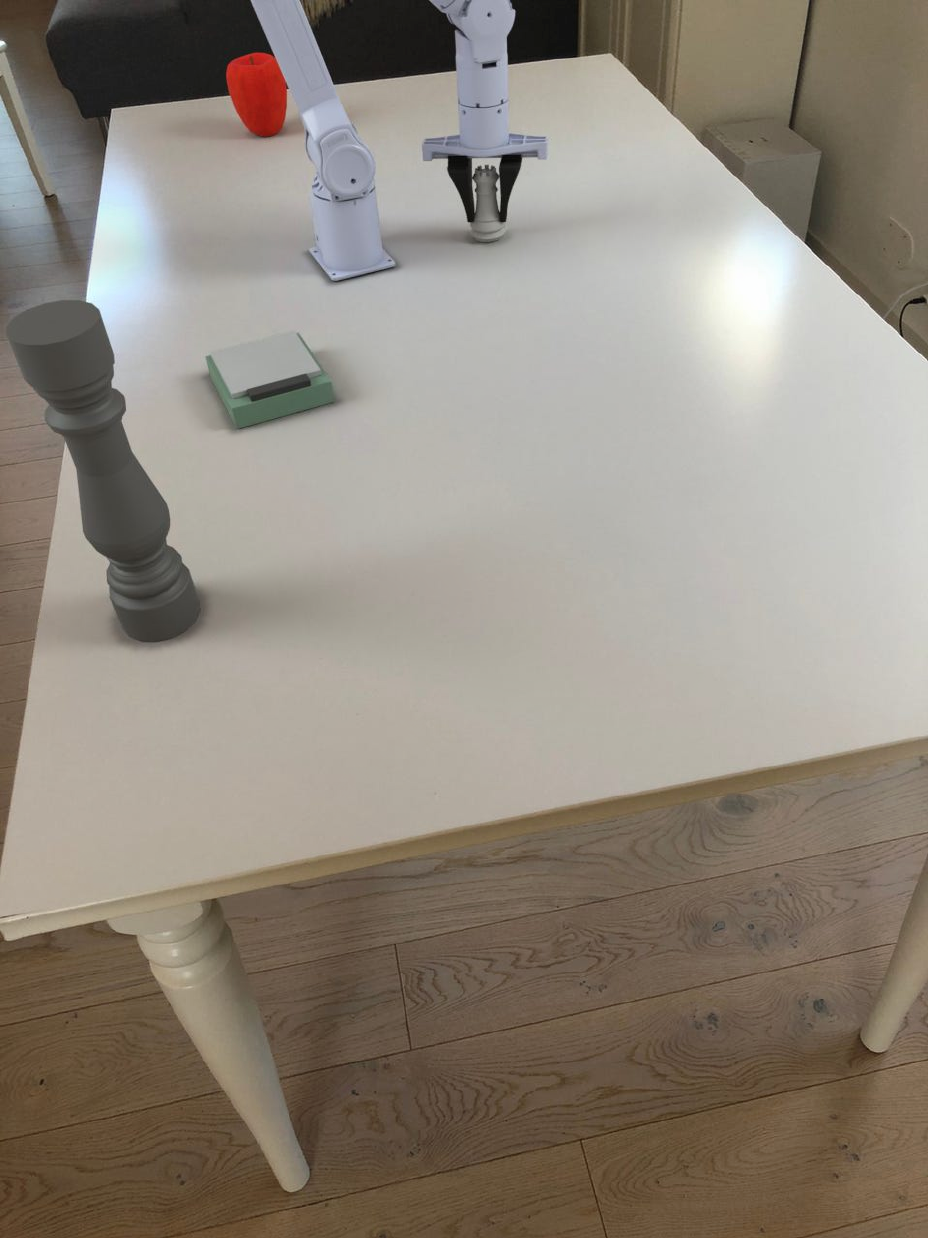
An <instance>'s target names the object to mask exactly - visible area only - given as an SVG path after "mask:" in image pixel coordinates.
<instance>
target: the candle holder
mask: <svg viewBox="0 0 928 1238" xmlns="http://www.w3.org/2000/svg"><path fill="white" fill-rule="evenodd" d="M5 336H6V338H7V340H8V343H9V345H10V348H11V350H12V353H13V355H14V357H15V361H16V362H17V365H18V367H19V370H20V372H21V375H22V377H23V380H24V381H25V382H26V383H27V384H28V385H29V387H31V388H32V390H33V391H34V392H35V393H36V394H37V395H38V396H39V397H40V398H42V399H43V400H44V401H45V402H46V403H47V404H48V405H47V407H46V408H45V409H44V422H45V423H46V425H47V426H48V427H49V428H50V429H51V430H52V432H53V433H56V434H59V435H60V436H62V437H63V439H64V442H65V445H66V447H67V449H68V452H69V454H70V457H71V459H72V462H73V465H74V467H75V470H76V479H77V487H78V488H77V489H78V495H79V504H80V517H81V526H82V533H83V536H84V538H85V539H86V540H87V541H88V543H89V544H90V545H91V546H92V547H93V549H94V550H95V551H96V552H97V553H99V554H100V555H101V556H103V557H105V558H106V560H107V561H109V564H108V567H107V568H106V583H107V586H109V587H108V590H109V592H108V593H109V600H110V602H111V604H112V607H113V610H114V611H115V614H116V616H117V619H118V621H119V624H120V626H121V628H122V630H123V631H124V632H125V634H126V635H127V636H128V637H129V638H132V639H134V640H136V641H138V642H146V643H147V642H149V643H157V642H161V641H166V640H169V639H173V638H174V637H177V636H179V635H181V634H182V633H184V632H186V631H187V630H188V629H190V627H191V626H192V625H193V624H195V623H196V622H197V620H198V617H199V614H200V612H201V604H200V598H199V596H198V592H197V590H196V586H195V583H194V580H193V578H192V577H193V576H192V575H191V571H190V568H188V566H186V565H185V564H184V563H183V558H182V557H183V556H182V555H181V554H180V553H179V552H178V550H176V549H175V547H173V546H171V545H168V541H167V537H168V535H169V532H170V529H171V514H170V509H169V505H168V503H167V501H166V500H165V498H164V497H163V496H162V494H161V492H160V491H159V489H157V487H156V485H155V484H154V482H153V481H152V479H151V478H150V476H149V475H148V472H146V470H145V469H144V467H143V466H142V464H141V463H140V461H139V460H138V458H137V457H136V455H135V454H134V453H133V450H132V447H131V444H130V442H129V439H128V436H127V433H126V430H125V427H124V424H123V421H122V420H123V417H124V415H125V413H126V412H127V404H126V397H125V395H124V394H123V393H122V392H121V391H120V390H119V389H117V388H114V387H113V385H112V384H113V383H112V381H113V379H114V377H115V366H114V365H115V363H116V361H115V353H114V350H113V347H112V344H111V340H110V338H109V335H108V332H107V329H106V326H105V323H104V320H103V317H102V314H101V310H100V308H98V307H97V306H96V305H95V304H94V303H92V302H88V301H84V300H80V299H60V300H56V301H50V302H44V303H41V304H39V305H35V306H33V307H29V308H27V309H26V310H24V311H22V312H21V313H19V314H17V315H16V316H13V318H12V319H11V320H10V321H9V323H8V324H7V325H6V330H5Z"/></svg>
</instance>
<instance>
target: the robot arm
mask: <svg viewBox="0 0 928 1238" xmlns="http://www.w3.org/2000/svg"><path fill="white" fill-rule="evenodd" d="M428 1H429V2H430V3H431V4H432V5H433V6H435V7H436V9H438V10H439V11H440V12H441V13H442V14H443V13H444V14H446V17H447V19H448V21H449V23H450V24H452V25H455V27H456V28H458V29H455V30H454V38H455V39H454V40H455V70H456V89H457V109H458V128H459V134H453V135H446V136H439V137H428V138H423V140H422V143H421V153H422V160H423V162H432V161H433V160H447V167H446V171H447V174H448V176H449V178H450V179H451V181H452V183H453V185H454V186H455V188H456V189H457V193H458V194H459V197H460V199H461V203H462V206H463V208H464V211H465V216H466V222H467V223H471V222H473V220H474V217H473V216H474V213H475V210H476V205H475V198H474V197H475V196H474V191H473V190H474V189H473V188H474V187H473V179H472V177H473V159H500V161H499V165H498V175H499V191H500V193H499V194H500V203H499V205H500V206H499V212H500V222H505V223H506V222H507V219H508V208H509V202H510V197H511V196H512V191H513V189H514V186H515V183H516V181H517V178H518V176H519V175H520V174H519V173H520V172H521V169H522V162H523V159H525V158H526V159H527V158H528V159H529V158H531V159H532V158H537V160H538V161H539V160H540V161H541V160H542V161H543V160H545V161H546V160H548V155H549V154H548V153H549V137H548V135H546V136H545V135H543V136H541V135H540V136H539V135H529V134H521V133H512V132H510V115H509V114H510V113H509V109H510V108H509V106H510V105H509V104H510V103H509V63H508V62H509V60H508V59H509V56H508V41H507V40H508V39H507V38H508V35H509V34H510V32H511V31H512V28H513V26H514V23H515V20H516V19H515V18H516V10H515V9H513V3H512V2H511V0H428ZM250 2H251V5H252V7H253V9H254V12H255V14H256V17H257V19H258V21H259V23H260V26H261V28H262V30H263V33H264V34H265V37H266V39H267V42H268V44H269V47H270V48H271V51H272V53H273V57H275V58H276V60H277V62H278V65H279V67H280V69H281V72H282V74H283V76H284V79H285V81H286V86H287V89H288V90H289V93H290V94H291V97H292V99H293V102H294V104H295V106H296V108H297V112H298V116H299V119H300V121H301V123H302V127H303V129H304V149H305V152H306V155H307V157H308V159H309V161H310V162H311V163H312V164H313V166H314V168H315V170H316V172H315V174H314V177H313V181H312V183H311V189H310V193H309V207H310V208H309V209H310V213H311V220H312V225H313V226H312V227H313V231H314V237H315V239H314V240H315V246H311V247H310V248H309V249H308V250H309V253H310V254H311V256H312V257H314V259H315V261H316V262H317V264H319V267H321V269H323V271H324V272H325V273H326V275H327V276H328V277H329V279H330V280H331V281H332V282H333V281H334V282H337V281H338V282H339V281H341V280H346V279H350V278H353V277H357V276H362V275H366V274H369V273H373V272H378V271H381V270H386V269H390V268H394V267H395V266H396V261H395V260H394V259H393V258H392V257H391V255H389V253H387V251H386V250H385V249H384V248H383V241H382V232H381V231H382V230H381V224H380V223H381V222H380V216H379V215H380V214H379V206H378V198H377V190H376V188H377V187H376V181H375V176H376V170H377V164H376V159H375V156H374V154H373V152H372V151H371V148H370V147H369V146H368V145H367V144H366V143H365V142H364V141H363V139H362V138H361V136H360V135H359V133H358V131H357V129H356V127H355V125H354V124H353V123H352V122H351V120H350V118H349V116H348V114H347V112H346V110H345V108H344V105H343V104H342V101H341V99H340V97H339V94H338V92H337V89H336V87H335V85H334V82H333V81H332V77H331V75H330V72H329V70H328V67H327V65H326V62H325V60H324V57H323V55H322V53H321V50H320V47H319V45H318V42H317V39H316V37H315V35H314V33H313V29H312V28H311V25H310V22H309V20H308V17H307V15H306V13H305V10H304V7H303V5H302V2H301V0H250Z"/></svg>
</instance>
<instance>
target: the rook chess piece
mask: <svg viewBox="0 0 928 1238" xmlns="http://www.w3.org/2000/svg"><path fill="white" fill-rule="evenodd" d="M489 166H490V167H489ZM498 180H500V178H499V172H497V168H496V166H495V165H489V164H484V168H483V165H477V166H476V167H475V168H474V173H473V174H472V181H473V182H474V183H475V188H474V193H475V196H476V202H475V213H474V216H473V217H474V220H473V222H469V223H470V224H469V226H470V228H471V229H470V230H469V234H470V235H471V237H472V238H473V239H474V240H476V241H478V242H484V243H485V242H486V243H487V242H489V243H490V242H496V241H498V240H500V239H502V238H503V237H504V235H505V234H506V232H507V229H506V228H505V225H506V222H500V208H499V204H498V198H497V195H498V194H497V192H498V191H499V188H498V187H497V182H498Z"/></svg>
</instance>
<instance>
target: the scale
mask: <svg viewBox="0 0 928 1238" xmlns="http://www.w3.org/2000/svg"><path fill="white" fill-rule="evenodd" d="M204 358H205V361H206V365H207V369H208V372H209V377H210V379H211V381H212V382H213V385H214V386H215V388H216V391H217V392H218V394H219V397H220V398H221V400H222V403H223V404H224V406H225V408H226V410H227V413H228V415H229V416H230V418H231V421H232V422H233V424H234V426H235V428H236V429H237V430H240V429H242V428H246V427H249V426H254V425H257V424H261V423H265V422H269V421H272V420H275V419H278V418H282V417H286V416H289V415H293V414H297V413H300V412H304V411H307V410H311V409H314V408H319V407H322V406H325V405H329V404H332V403H335V395H334V389H333V383H332V380H331V378H330V376H328V374H327V373H326V371H325V370H324V368H323V367H322V366H321V364H320V362H319V360H318V359H317V358H316V356H315V355H314V354H313V352H312V351H311V349H310V348H309V346H308V345H307V343H306V341H305V339H304V338H303V337H302V335H301V334H300V332H296V331H295V330H293V329H292V330H289V331H285V332H281V333H278V334H275V335H269V336H267V337H262V338H258V339H255V340H254V339H253V340H251V341H247V342H243V343H239V344H236V345H232V346H231V345H230V346H227V347H224V348H220V349H215V350H212V351H209V355H206V356H205V357H204Z"/></svg>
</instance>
